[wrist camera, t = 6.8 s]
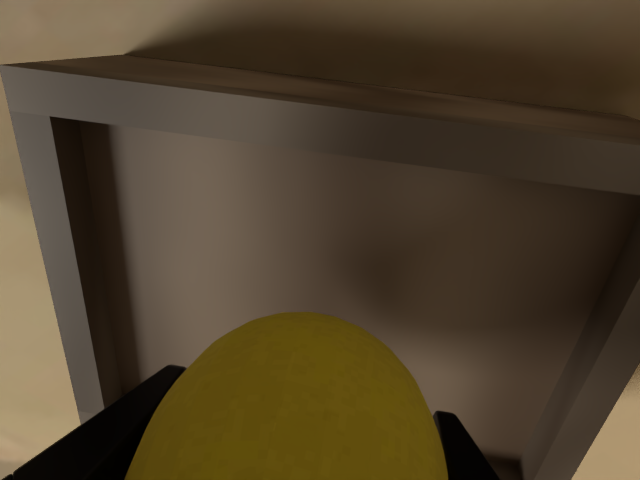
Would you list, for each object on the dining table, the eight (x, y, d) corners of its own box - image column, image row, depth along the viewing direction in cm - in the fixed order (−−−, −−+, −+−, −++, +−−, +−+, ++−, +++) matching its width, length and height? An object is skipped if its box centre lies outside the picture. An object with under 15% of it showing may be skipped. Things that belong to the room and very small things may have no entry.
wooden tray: (151, 338, 19) (82, 430, 15) (121, 54, 14) (-2, 65, 9) (506, 399, 18) (547, 518, 14) (625, 116, 13) (757, 160, 8)
